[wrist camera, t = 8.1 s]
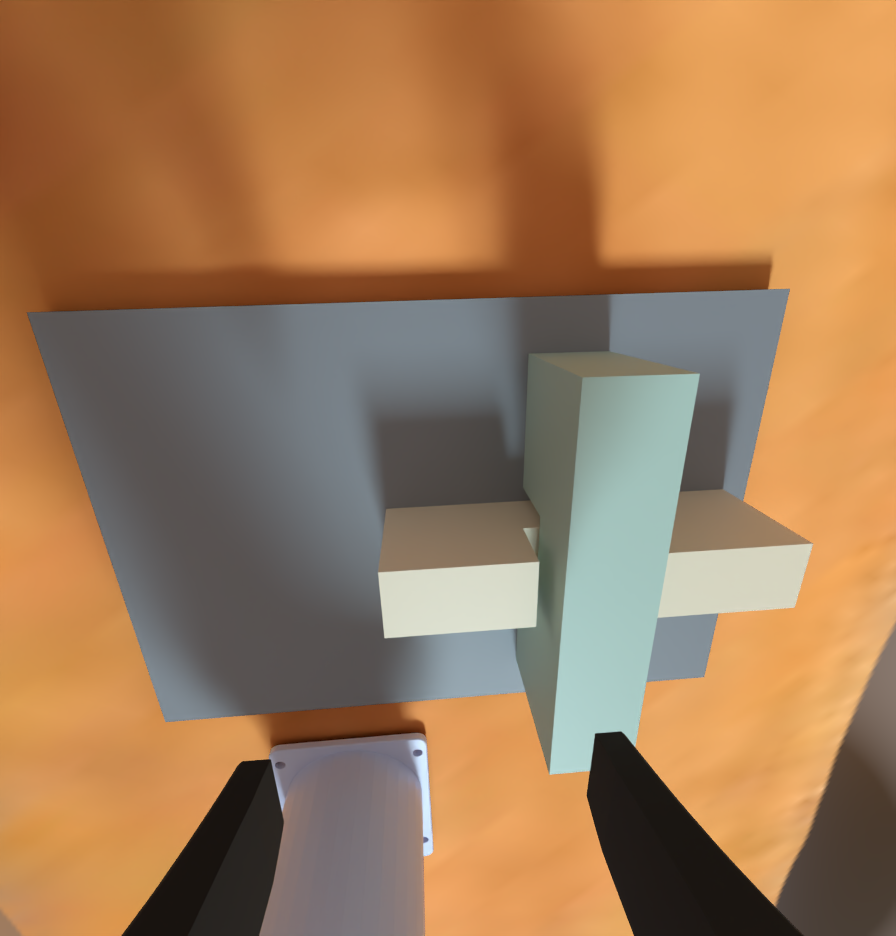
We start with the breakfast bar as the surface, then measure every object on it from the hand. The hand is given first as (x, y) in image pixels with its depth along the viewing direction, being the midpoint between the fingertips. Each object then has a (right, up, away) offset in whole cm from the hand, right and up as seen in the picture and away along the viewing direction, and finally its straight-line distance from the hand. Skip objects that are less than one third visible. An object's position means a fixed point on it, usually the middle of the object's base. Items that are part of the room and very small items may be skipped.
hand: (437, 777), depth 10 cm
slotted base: (0, +5, +9) cm, 10 cm away
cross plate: (+5, +5, +9) cm, 11 cm away
